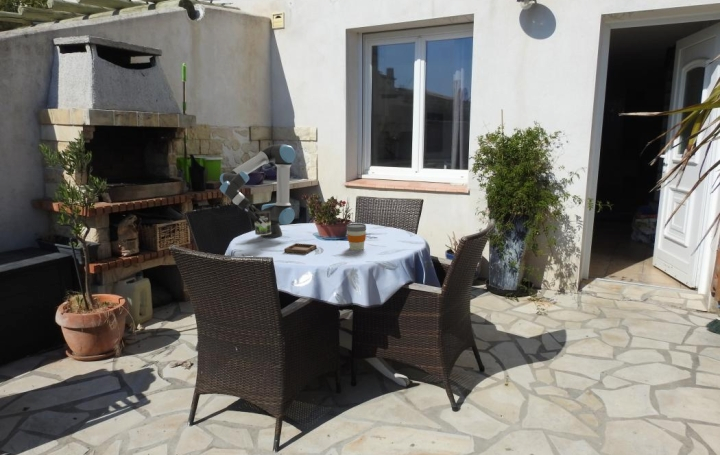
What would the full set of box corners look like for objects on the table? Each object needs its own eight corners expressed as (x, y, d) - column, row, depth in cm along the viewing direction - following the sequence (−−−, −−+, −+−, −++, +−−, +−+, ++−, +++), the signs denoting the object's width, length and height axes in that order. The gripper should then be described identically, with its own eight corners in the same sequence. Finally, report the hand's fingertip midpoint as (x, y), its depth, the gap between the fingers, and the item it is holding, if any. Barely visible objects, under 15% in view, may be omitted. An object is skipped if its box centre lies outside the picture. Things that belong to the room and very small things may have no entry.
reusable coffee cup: (349, 251, 330) (349, 228, 326) (344, 246, 341) (344, 224, 338) (368, 249, 333) (368, 226, 330) (363, 245, 345) (363, 222, 342)
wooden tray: (295, 246, 343) (295, 243, 343) (316, 248, 338) (316, 244, 337) (284, 252, 330) (284, 248, 329) (305, 254, 324) (305, 250, 324)
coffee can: (271, 234, 332) (270, 212, 329) (255, 235, 331) (253, 213, 327) (271, 231, 342) (269, 209, 339) (255, 232, 340) (253, 210, 337)
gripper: (241, 202, 344) (267, 225, 347) (232, 208, 322) (260, 233, 325) (249, 194, 342) (274, 217, 346) (240, 199, 320) (268, 224, 323)
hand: (267, 225), depth 335 cm, fingers closed on coffee can, 10 cm apart
